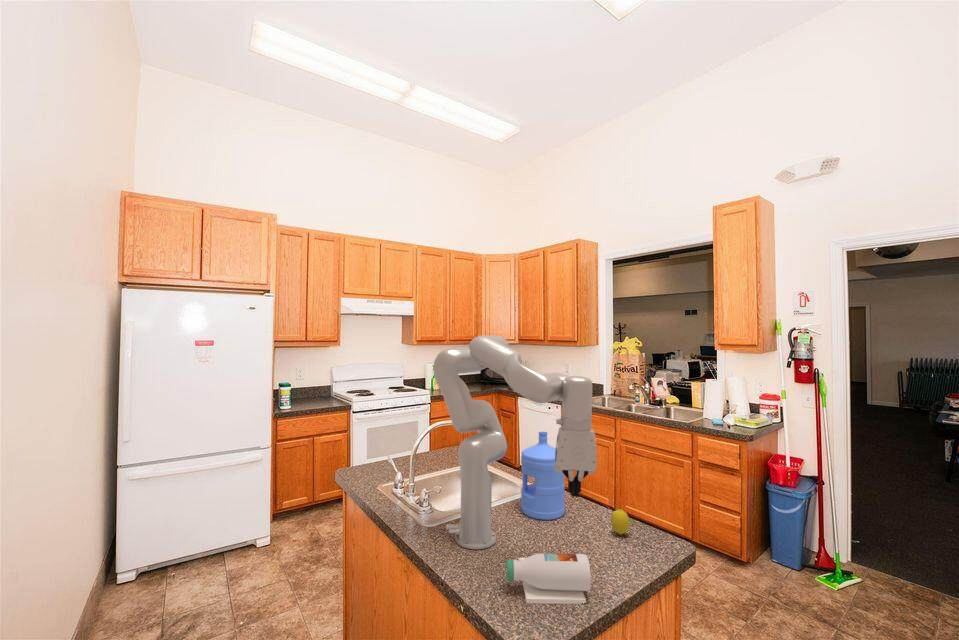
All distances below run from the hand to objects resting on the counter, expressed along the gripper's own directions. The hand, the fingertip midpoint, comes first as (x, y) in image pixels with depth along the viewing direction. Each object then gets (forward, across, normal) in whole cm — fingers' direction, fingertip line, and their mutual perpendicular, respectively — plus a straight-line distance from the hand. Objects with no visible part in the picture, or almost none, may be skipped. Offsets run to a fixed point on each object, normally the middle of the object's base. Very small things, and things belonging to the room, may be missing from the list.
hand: (574, 494), depth 106 cm
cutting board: (+22, -6, -1) cm, 23 cm away
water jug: (+23, -1, +41) cm, 47 cm away
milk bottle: (+16, +3, -6) cm, 18 cm away
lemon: (+22, +21, +24) cm, 39 cm away
